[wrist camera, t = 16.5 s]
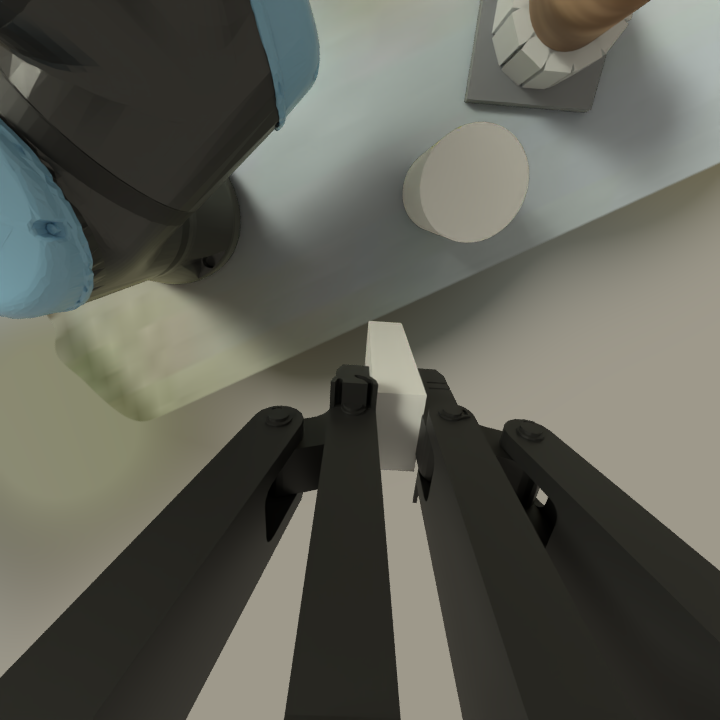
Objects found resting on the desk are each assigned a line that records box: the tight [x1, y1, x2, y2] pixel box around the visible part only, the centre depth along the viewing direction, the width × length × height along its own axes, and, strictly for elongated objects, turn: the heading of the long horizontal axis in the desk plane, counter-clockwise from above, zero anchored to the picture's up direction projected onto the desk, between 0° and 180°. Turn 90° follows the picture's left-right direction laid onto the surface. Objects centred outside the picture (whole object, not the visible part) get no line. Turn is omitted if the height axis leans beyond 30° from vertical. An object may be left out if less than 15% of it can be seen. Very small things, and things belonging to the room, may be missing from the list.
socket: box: [464, 0, 633, 112], centre depth 29 cm, size 12×12×6 cm
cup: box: [402, 122, 529, 243], centre depth 32 cm, size 8×8×12 cm
